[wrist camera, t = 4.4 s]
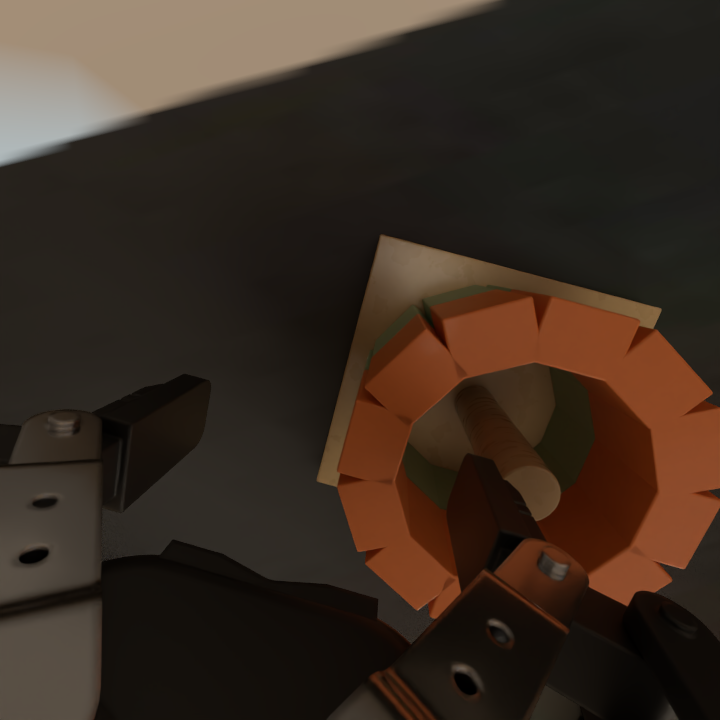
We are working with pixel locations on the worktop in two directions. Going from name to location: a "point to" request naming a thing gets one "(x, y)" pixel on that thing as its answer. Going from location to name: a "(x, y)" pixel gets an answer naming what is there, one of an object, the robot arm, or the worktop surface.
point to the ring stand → (472, 395)
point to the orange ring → (601, 468)
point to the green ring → (557, 448)
